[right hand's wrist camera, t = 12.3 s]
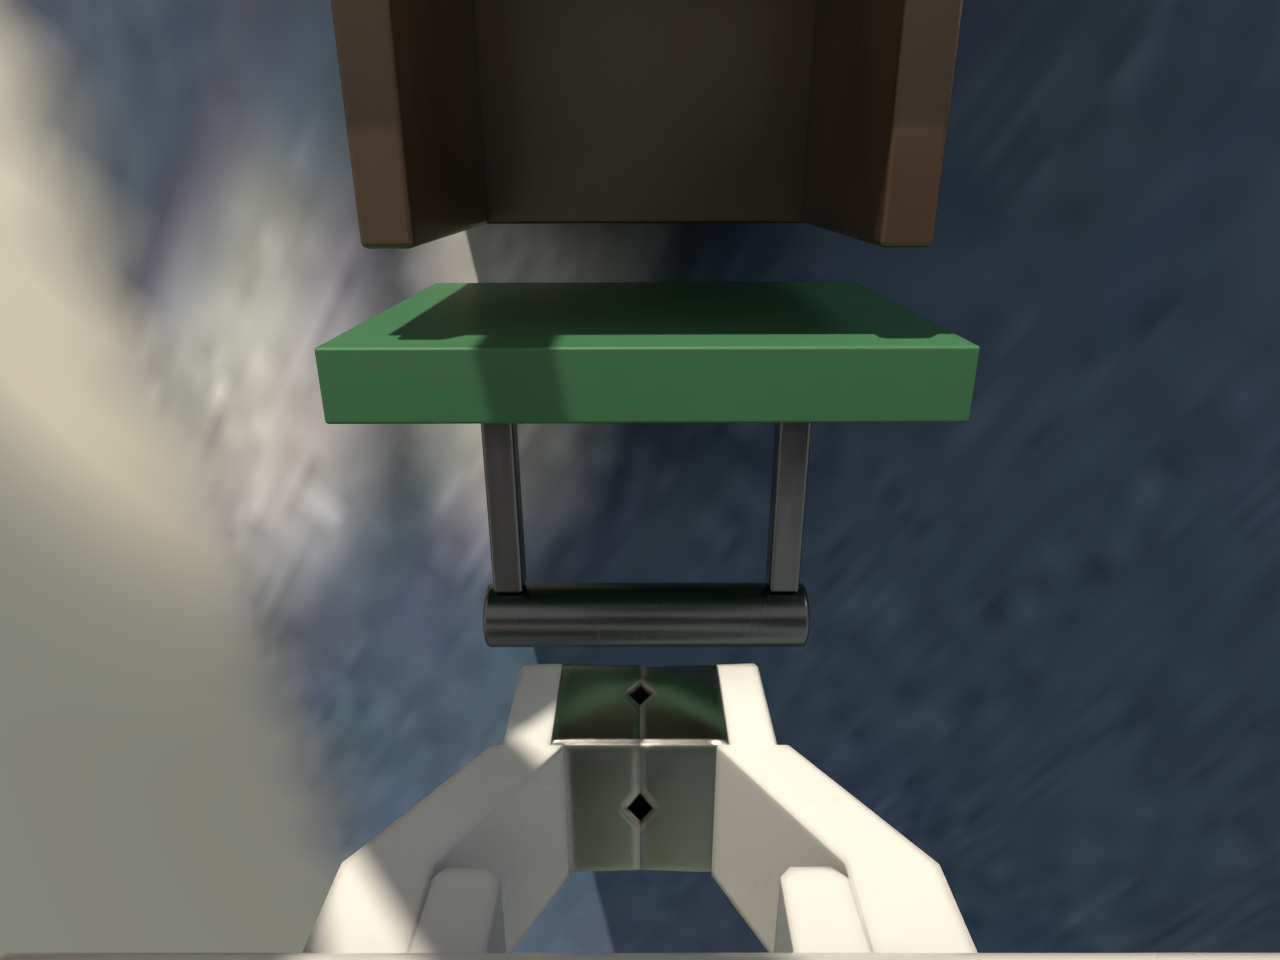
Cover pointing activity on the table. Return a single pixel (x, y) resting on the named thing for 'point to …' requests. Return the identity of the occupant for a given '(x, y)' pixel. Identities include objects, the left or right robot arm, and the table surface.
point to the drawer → (646, 193)
